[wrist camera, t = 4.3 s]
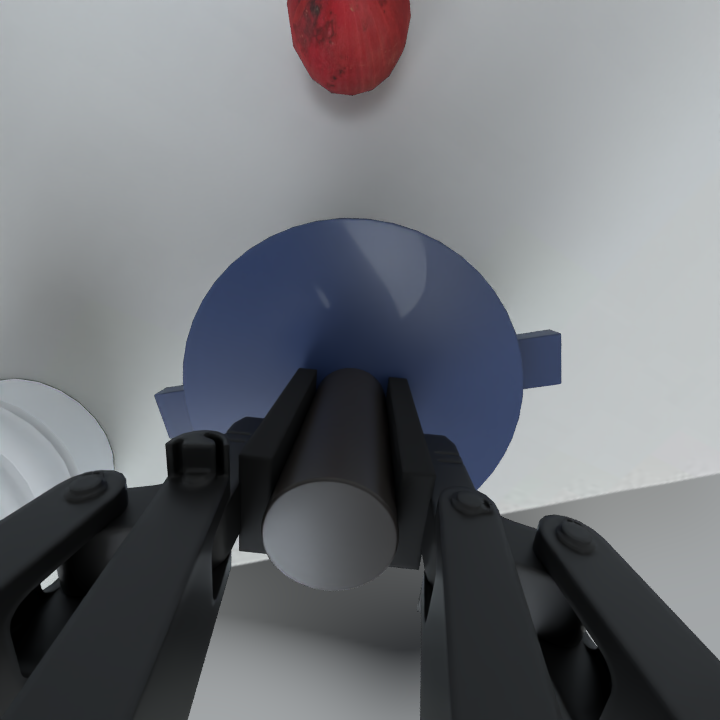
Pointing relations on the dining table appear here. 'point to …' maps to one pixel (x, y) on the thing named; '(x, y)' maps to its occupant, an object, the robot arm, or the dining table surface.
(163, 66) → the dining table surface
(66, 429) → the honey pot
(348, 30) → the onion
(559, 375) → the pot
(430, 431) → the lid
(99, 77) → the dining table surface
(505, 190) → the dining table surface
